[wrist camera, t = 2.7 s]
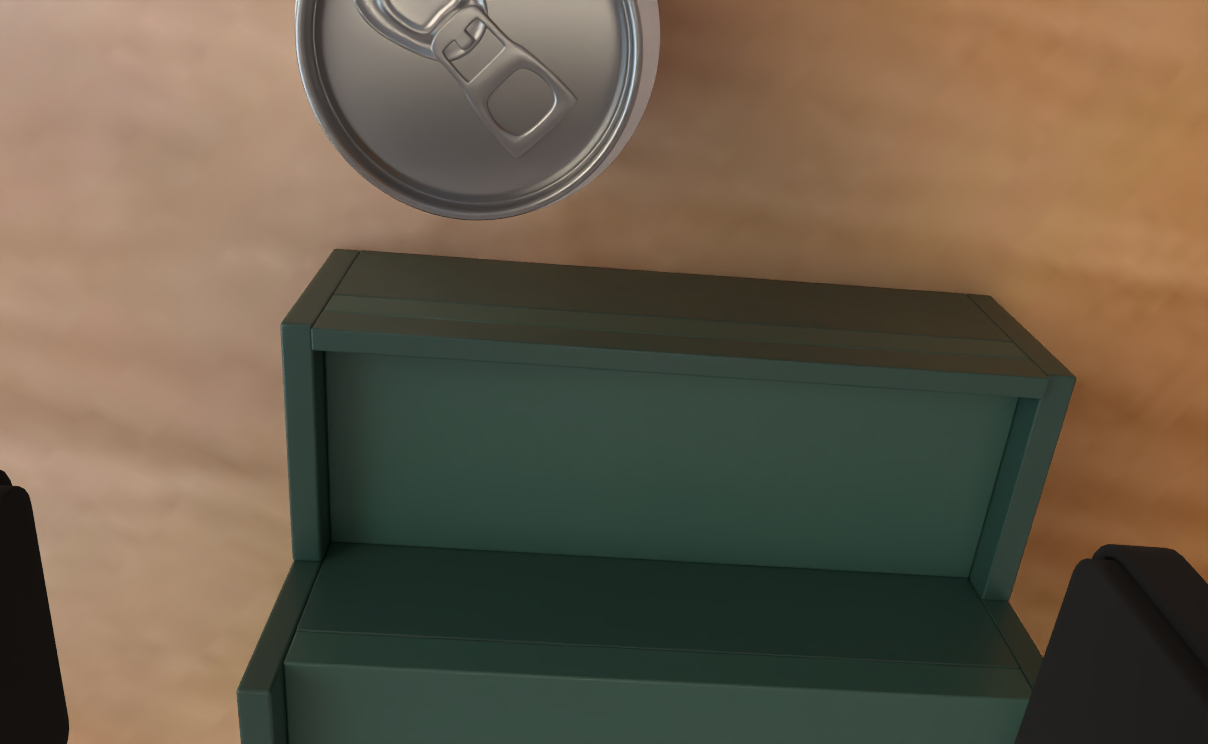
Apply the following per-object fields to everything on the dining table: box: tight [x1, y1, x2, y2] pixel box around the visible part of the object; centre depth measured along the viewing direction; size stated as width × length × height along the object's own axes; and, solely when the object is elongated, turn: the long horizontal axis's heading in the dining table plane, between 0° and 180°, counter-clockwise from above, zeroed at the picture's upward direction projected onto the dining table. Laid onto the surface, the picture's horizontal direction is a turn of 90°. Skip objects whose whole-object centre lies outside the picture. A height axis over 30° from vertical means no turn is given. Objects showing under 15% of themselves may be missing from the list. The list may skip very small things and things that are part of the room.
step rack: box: [237, 249, 1076, 744], centre depth 29 cm, size 17×20×11 cm
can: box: [295, 0, 660, 220], centre depth 22 cm, size 6×6×12 cm
